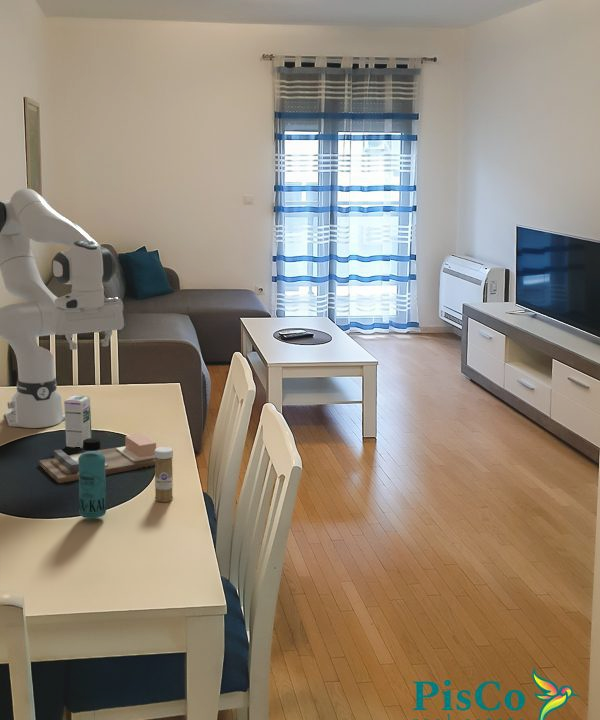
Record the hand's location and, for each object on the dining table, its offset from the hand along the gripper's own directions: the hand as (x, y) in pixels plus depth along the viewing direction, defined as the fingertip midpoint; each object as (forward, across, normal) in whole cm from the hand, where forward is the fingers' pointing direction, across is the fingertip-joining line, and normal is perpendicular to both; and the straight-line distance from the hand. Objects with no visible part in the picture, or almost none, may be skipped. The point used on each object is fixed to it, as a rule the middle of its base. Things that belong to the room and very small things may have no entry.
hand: (89, 347), depth 257 cm
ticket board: (+31, +3, +12) cm, 33 cm away
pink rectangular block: (+30, -9, +12) cm, 33 cm away
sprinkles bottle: (+31, -2, +44) cm, 54 cm away
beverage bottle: (+31, +18, +47) cm, 59 cm away
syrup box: (+31, +1, -8) cm, 32 cm away
